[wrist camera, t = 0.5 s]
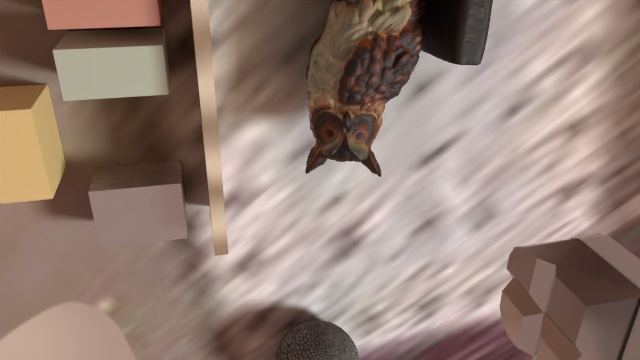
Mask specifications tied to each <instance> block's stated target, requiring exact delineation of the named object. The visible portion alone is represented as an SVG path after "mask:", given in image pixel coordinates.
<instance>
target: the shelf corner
mask: <svg viewBox="0 0 640 360" xmlns="http://www.w3.org/2000/svg"><path fill="white" fill-rule="evenodd" d="M190 9H191V19H192V30H193V40H194V50H195V61H196V71H197V81H198V92H199V102H200V112H201V123H202V133H203V143H204V154H205V164H206V175H207V185H208V195H209V206H210V215H211V224H212V233H213V243H214V252H215V256H216V255H224V254H228V245H227V233H226V220H225V208H224V196H223V184H222V172H221V159H220V147H219V135H218V123H217V111H216V98H215V86H214V74H213V62H212V50H211V37H210V25H209V13H208V1H207V0H190Z"/></svg>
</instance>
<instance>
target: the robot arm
mask: <svg viewBox="0 0 640 360" xmlns="http://www.w3.org/2000/svg"><path fill="white" fill-rule="evenodd" d="M507 270H508V271H509V273H510V274H511V276H512V277H513V279H512V280H511V281H510V282H509V283H508V285H507V286H506V287H505V288H504V289H503V290H502V296H501V303H500V311H501V317H502V322H503V325H504V328H505V330H506V332H507V334H508V336H509V337H510V339H511V340H512V342H513V343H514V344H515V346H516V347H517V348H519V349H521V350H523V351H524V352H526V353H528V354H530V355H532V356H534V358H533V360H640V260H639V259H638V258H637V257H636V256H634V255H633V254H632V253H630V252H629V251H628V250H626V249H625V248H624V247H622V246H621V245H620V244H618V243H617V242H616V241H615V240H613V239H612V238H611V237H609V236H606V235H603V234H599V233H597V234H591V235H585V236H579V237H573V238H570V239H567V240H560V241H553V242H546V243H540V244H533V245H526V246H519V247H515V248H514V249H513V251H512V252H511V254H510V255H509V260H508V265H507Z"/></svg>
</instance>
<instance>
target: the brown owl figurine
mask: <svg viewBox="0 0 640 360" xmlns="http://www.w3.org/2000/svg"><path fill="white" fill-rule="evenodd" d="M492 2H493V0H336V1H334V2H333V4H332V5H331V7H330V11H329V16H328V18H327V22H326V27H325V30H324V32H323V33H322V34H321V35H320V36H319V37H318V38H317V39H316V41H315V43H314V45H313V46H312V47H311V51H310V57H309V63H308V67H307V72H306V79H307V82H306V83H307V86H308V90H307V94H308V99H309V100H310V102H309V103H308V108H309V113H310V114H309V119H310V129H311V130H312V132H313V136H314V137H315V138H316V144H315V146H314V147H313V148H312V149H311V151H310V153H309V156H308V159H307V167H306V174H307V173H309V172H310V171H312V170H314V169H315V168H317V167H318V166H320V165H323V164H324V163H325V162H326V160H327V159H331V160H335V161H339V162H345V161H356V162H360V161H361V162H362V164H364V165H365V166H366V167H367V168H368V169H369V170H370V171H371V172H372V173H374V174H377V175H378V176H379V177H381V170H380V167H379V164H378V162H377V160H376V158H375V155H374V153H373V152H372V150H371V149H370V148H371V145H372V143H373V141H374V139H375V138H376V136H377V134H378V132H379V130H380V128H381V125H382V113H383V112H384V109H385V105H384V104H386V103H387V102H388V101H389V100H390V99H392V98H394V97H396V96H398V95H399V93H400V91H401V88H402V87H403V86H404V85H405V84H406V83H407V82H408V80H409V78H410V75H411V73H412V72H413V71H414V69H415V66H416V64H417V62H418V60H419V53H420V51H421V50H422V51H424V52H426V53H429V54H431V55H433V56H435V57H437V58H439V59H442V60H444V61H447V62H449V63H453V64H459V65H479V64H480V63H481V61H482V57H483V54H484V50H485V45H486V41H487V35H488V29H489V22H490V16H491V9H492Z"/></svg>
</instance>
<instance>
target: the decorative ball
mask: <svg viewBox="0 0 640 360" xmlns="http://www.w3.org/2000/svg"><path fill="white" fill-rule="evenodd" d="M275 360H359V355H358V351H357V348H356V346H355V344H354V342H353V340H352V339H351V337H350V336H349V335H348V334H347V333H346V332H345V331H344V330H343V329H342V328H340V327H338V326H337V325H335V324H333V323H330V322H326V321H319V320H314V321H308V322H304V323H301V324H299V325H297V326H296V327H294V328H293V329H292V330H290V331H289V332H288V333H287V334H286V336H285V337H284V338H283V340H282V341H281V343H280V345H279V347H278V350H277V353H276V357H275Z"/></svg>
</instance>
